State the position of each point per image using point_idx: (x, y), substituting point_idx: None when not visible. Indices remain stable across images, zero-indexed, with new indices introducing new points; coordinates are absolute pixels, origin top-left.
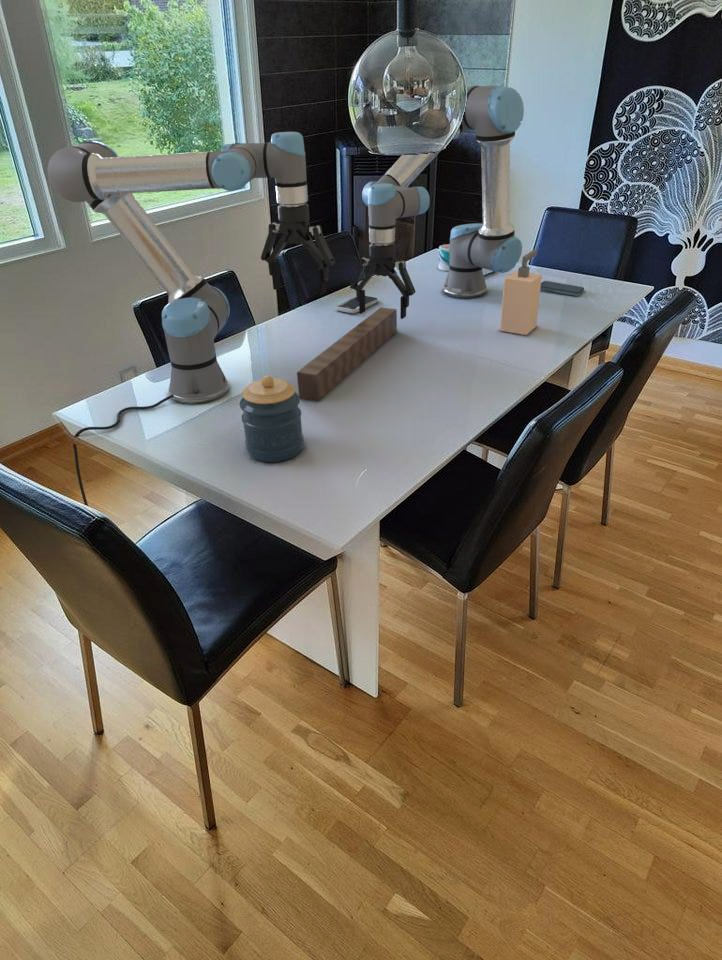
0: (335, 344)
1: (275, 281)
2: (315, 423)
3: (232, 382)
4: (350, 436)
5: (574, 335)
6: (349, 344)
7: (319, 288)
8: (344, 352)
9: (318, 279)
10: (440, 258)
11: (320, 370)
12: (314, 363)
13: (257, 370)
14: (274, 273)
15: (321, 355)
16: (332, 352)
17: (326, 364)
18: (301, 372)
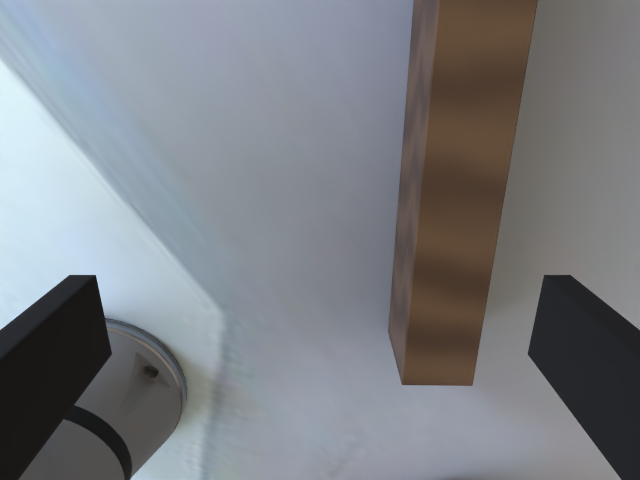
0: (441, 115)
1: (73, 394)
2: (484, 422)
3: (148, 311)
4: (583, 443)
5: None
6: (505, 92)
7: (560, 390)
8: (506, 177)
9: (608, 460)
10: None
11: (475, 353)
12: (431, 313)
13: (157, 213)
14: (24, 468)
15: (428, 243)
16: (460, 202)
17: (478, 307)
18: (418, 383)
